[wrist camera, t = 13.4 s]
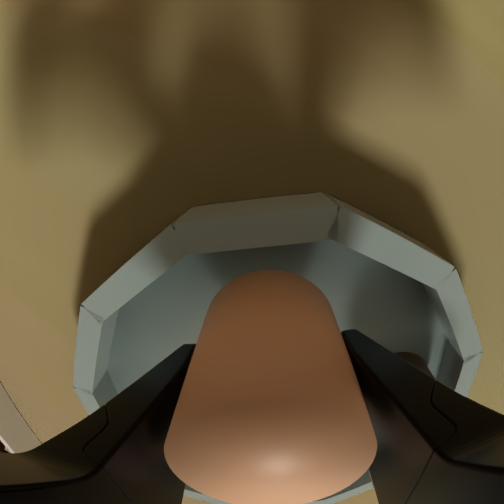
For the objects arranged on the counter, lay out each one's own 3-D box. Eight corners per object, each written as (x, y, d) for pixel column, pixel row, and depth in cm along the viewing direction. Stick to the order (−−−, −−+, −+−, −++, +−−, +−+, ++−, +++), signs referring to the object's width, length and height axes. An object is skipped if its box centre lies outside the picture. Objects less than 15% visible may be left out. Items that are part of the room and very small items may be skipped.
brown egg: (333, 371, 10) (363, 496, 5) (217, 381, 10) (194, 505, 6) (332, 262, 9) (392, 381, 4) (193, 277, 9) (133, 399, 4)
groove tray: (470, 183, 11) (518, 198, 8) (415, 455, 16) (427, 489, 13) (53, 230, 12) (8, 253, 9) (160, 476, 18) (150, 510, 15)
